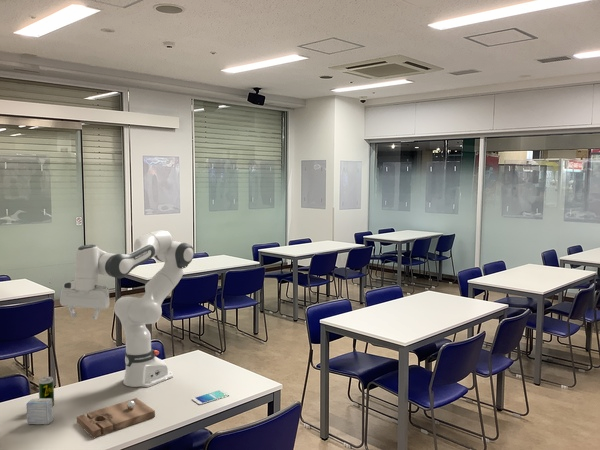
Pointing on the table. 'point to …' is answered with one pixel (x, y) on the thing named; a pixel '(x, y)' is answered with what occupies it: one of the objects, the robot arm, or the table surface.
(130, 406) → the ball
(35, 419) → the medicine box
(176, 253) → the robot arm
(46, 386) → the beer can
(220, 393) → the smartphone
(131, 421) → the grooved wooden board
